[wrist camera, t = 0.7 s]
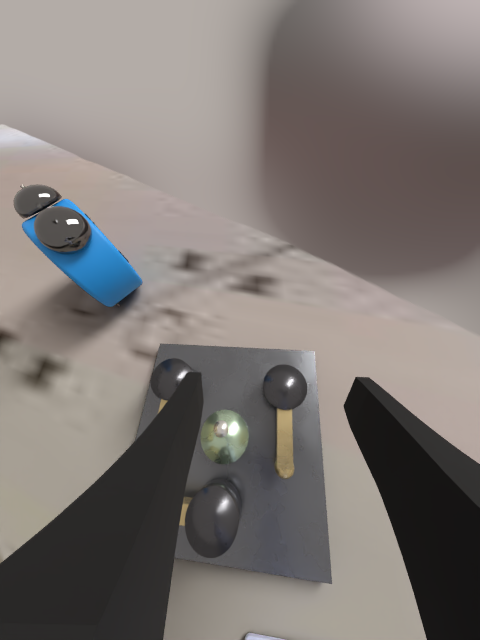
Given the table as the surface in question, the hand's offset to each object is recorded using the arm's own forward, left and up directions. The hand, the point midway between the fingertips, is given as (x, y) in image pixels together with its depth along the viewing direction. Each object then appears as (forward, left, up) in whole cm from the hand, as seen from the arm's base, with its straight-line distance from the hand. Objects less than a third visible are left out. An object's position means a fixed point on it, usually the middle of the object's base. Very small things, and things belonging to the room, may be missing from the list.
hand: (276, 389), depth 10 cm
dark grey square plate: (-3, +4, -17) cm, 17 cm away
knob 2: (-9, +7, -15) cm, 19 cm away
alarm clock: (+17, +24, -17) cm, 34 cm away
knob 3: (-1, -2, -15) cm, 15 cm away
